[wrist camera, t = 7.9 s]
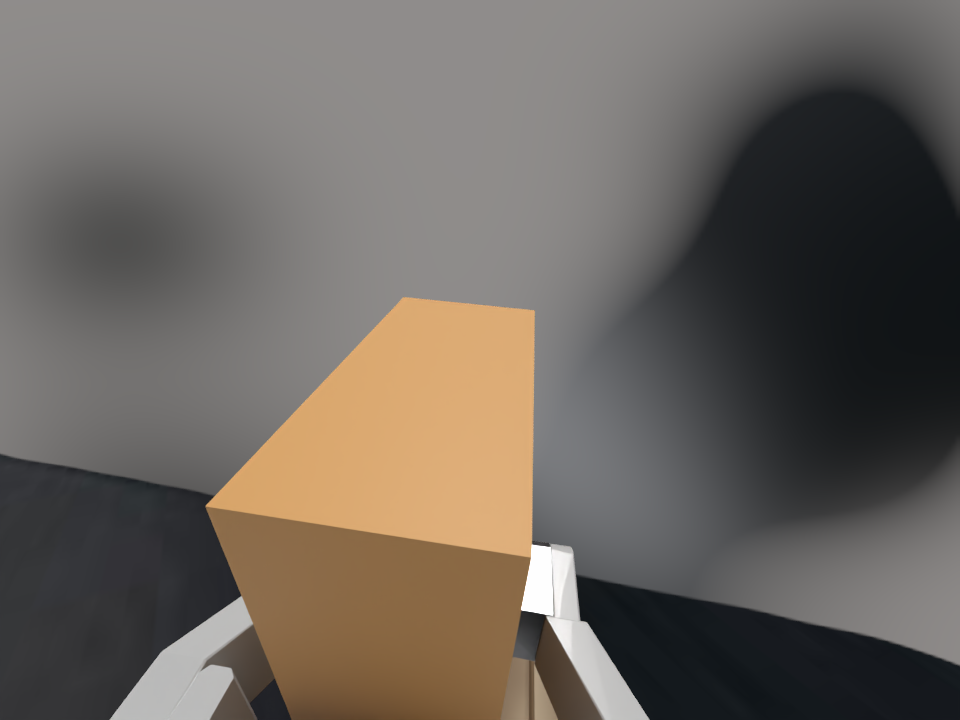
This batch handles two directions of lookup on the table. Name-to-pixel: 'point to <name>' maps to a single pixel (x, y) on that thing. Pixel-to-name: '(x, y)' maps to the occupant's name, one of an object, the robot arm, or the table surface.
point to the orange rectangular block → (395, 521)
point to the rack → (526, 694)
